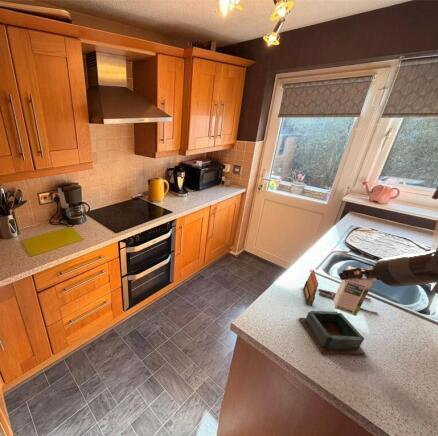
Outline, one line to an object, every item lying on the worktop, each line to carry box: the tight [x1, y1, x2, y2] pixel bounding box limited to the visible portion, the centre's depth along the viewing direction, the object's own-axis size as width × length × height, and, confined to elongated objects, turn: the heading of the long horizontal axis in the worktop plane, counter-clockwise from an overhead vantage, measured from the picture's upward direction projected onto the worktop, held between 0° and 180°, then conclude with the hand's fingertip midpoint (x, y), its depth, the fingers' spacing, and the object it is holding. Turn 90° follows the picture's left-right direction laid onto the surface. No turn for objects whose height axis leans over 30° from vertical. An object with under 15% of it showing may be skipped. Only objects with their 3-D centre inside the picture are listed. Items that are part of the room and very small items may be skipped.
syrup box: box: [333, 265, 374, 317], centre depth 75 cm, size 6×6×14 cm
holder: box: [298, 310, 366, 356], centre depth 83 cm, size 14×14×6 cm
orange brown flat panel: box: [302, 269, 319, 307], centre depth 99 cm, size 11×2×12 cm, turn 155°
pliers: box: [317, 288, 378, 315], centre depth 99 cm, size 10×1×20 cm
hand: (353, 277), depth 74 cm, fingers closed on syrup box, 7 cm apart
